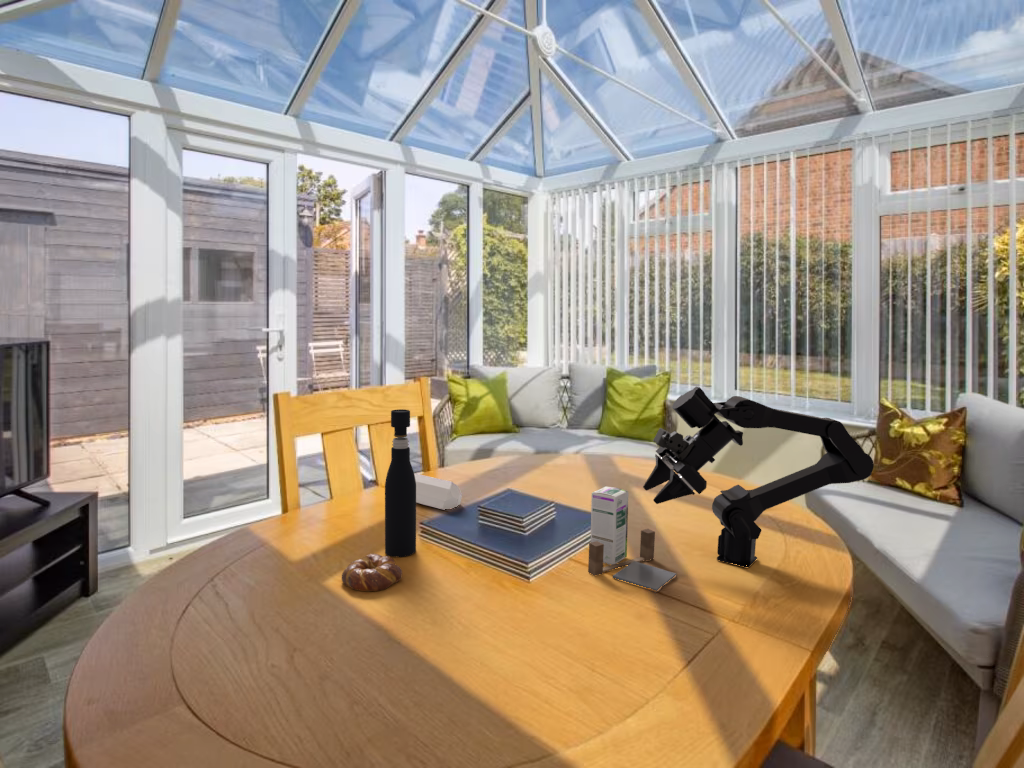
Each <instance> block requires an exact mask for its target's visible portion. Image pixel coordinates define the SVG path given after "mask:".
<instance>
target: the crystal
mask: <svg viewBox="0 0 1024 768" xmlns="http://www.w3.org/2000/svg"><path fill="white" fill-rule="evenodd" d="M414 475H415V481H416V504H421V505H423V506H428V507H432V508H436V509H440V510H444V511H446V510H445V509H450V508H454V507H457V506H458V505H459V506H460V505H461V502H462V497H463V494H462V492H461V489H460V487H459V485H457V484H456V483H454V482H453V481H450V480H447V479H442V478H438V477H432V476H429V475H424V474H421V473H420V474H419V473H415V472H414ZM459 506H458V507H459ZM458 507H457V508H458ZM454 509H455V508H454Z"/></svg>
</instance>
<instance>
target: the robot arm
mask: <svg viewBox="0 0 1024 768" xmlns="http://www.w3.org/2000/svg"><path fill="white" fill-rule="evenodd" d="M671 408H672V410H673V411H674V412H675V413H676V414H677V415H678V416H679V417H680V418H681V419H682V421H684V422H685V423H686V424H687V425H688V426H689V428H691V429H694V428H697V429H699V430H698V431H697V432H696V433H695V434H693V436H691V435H690V434H689V435H686V436H684V435H683V434H681V433H679V432H677V431H672V432H671V431H668V430H667V429H664V428H662V427H659V428H658V431H657V432H656V434H655V436H654V438H653V440H652V441H653V442H654V443H655V444H656V445H657V446H659V447H658V448H657V449H656V450H655V455H654V457H655V466H654V468H653V470H652V472H651V473H650V474H649V476H648V478H647V480H646V481H645V482H644V483H643V486H642V488H643V489H644V491H649V490H652V489H654V488H656V487H659V486H660V485H662V484H664V483H665V484H664V486H663V487H662V488H661V489H660V491H659V492H658V493H657V494H656V495H655V496H654V498H653V500H652V501H653V502H654V503H655V504H656V505H658V504H663V503H665V502H666V503H667V502H668V501H669V502H670V501H672V500H675V499H679V498H683V497H687V496H691V495H693V496H694V495H695V494H696V493H697V494H698V495H701V493H703V492H704V491H705V490H706V489H707V485H708V483H707V480H706V479H705V478H704V477H703V476H702V475H701V473H700V472H699V471H700V469H702V468H703V467H704V466H705V465H706V464H707V463H708V462H709V463H711V464H713V463H714V462H715V461H716V459H715V458H714V457H715V456H716V455H717V454H718V453H720V451H721V450H723V449H724V448H725V447H726V446H727V445H728V444H729V443H731V442H733V443H735V444H737V445H739V446H740V447H741V446H743V444H744V441H743V436H744V432H743V431H742V430H739V429H737V430H736V429H735V428H734V427H733V426H732V425H731V424H730V423H732V424H734V425H735V426H738V427H740V428H743V429H765V428H770V429H771V428H772V429H773V428H774V429H780V430H785V431H791V432H796V433H801V434H806V435H810V436H817V437H819V438H820V440H821V443H822V447H823V449H824V450H825V452H826V453H825V454H823V455H822V457H820V459H819V460H818V461H817V462H816V463H815V464H813V465H810V466H807V467H805V468H802V469H800V470H798V471H795V472H793V473H791V474H788V475H786V476H782V477H781V478H778V479H776V480H775V479H774V481H770V482H768V483H765V484H763V485H760V486H758V487H756V488H754V489H746V488H744V487H743V486H741V485H740V484H736V485H734V486H732V487H731V488H729V489H726V490H720V494H718V495H717V496H715V497H714V499H713V502H712V505H711V509H712V513H713V515H714V516H715V517H716V518H717V519H718V520H719V523H720V525H721V526H723V528H722V529H721V530H720V535H718V537H717V550H716V551H717V552H716V553H717V555H718V556H717V557H716V561H718V560H720V561H719V562H722V561H724V562H723V563H726V562H728V563H727V564H729V563H733V564H737V565H740V566H744V567H749V566H750V565H751V564H752V563H753V562H754V561H755V560H756V559H757V560H758V557H757V555H756V543H757V540H759V538H760V536H761V533H762V528H761V527H760V526H759V525H758V524H757V523H755V522H756V521H757V519H759V517H760V516H761V515H762V514H763V513H764V512H765V511H767V510H769V509H771V508H773V507H776V506H778V505H782V504H783V503H787V502H789V501H791V500H793V499H796V498H799V497H801V496H803V495H805V494H809V493H811V492H814V491H816V490H819V489H821V488H823V487H826V486H828V485H834V484H835V485H837V484H851V483H855V482H860V481H864V480H867V479H868V478H869V477H871V476H872V472H873V470H874V468H875V467H874V466H875V464H874V460H873V458H872V456H871V455H869V454H868V453H866V452H865V451H864V450H863V449H862V447H861V445H859V443H858V441H856V440H855V438H853V436H852V435H851V434H850V433H849V432H848V430H847V428H846V427H845V426H844V424H843V423H842V422H841V421H839V420H837V419H836V420H835V419H833V418H830V417H819V416H814V415H808V414H804V413H798V412H794V411H788V410H782V409H777V408H773V407H770V406H767V405H765V404H763V403H761V402H760V403H759V402H756V401H754V400H752V399H748V398H745V397H742V396H740V395H733V396H731V397H730V398H728V399H727V400H726V401H720V402H718V401H717V402H713V401H712V400H711V399H710V398H709V397H708V396H707V394H706V393H705V391H704V390H703V389H702V388H701V387H699V386H695V387H694V388H692V389H691V390H688V391H686V392H685V393H683V394H681V395H680V396H679V397H677V398H676V400H675V401H674V402H673V403H672V406H671ZM716 415H718V416H719V417H722V418H724V419H725V420H724V421H721V419H719V418H718V417H717V416H716ZM726 420H727V421H726ZM657 454H658V455H657ZM694 491H695V492H696V493H695V492H694ZM757 560H756V561H757ZM756 561H755V562H756ZM755 562H754V563H755ZM754 563H753V564H754ZM733 564H732V565H733ZM753 564H752V565H753ZM737 565H736V566H737ZM746 565H747V566H746ZM752 565H751V566H752ZM740 566H739V567H740ZM751 566H750V567H751ZM744 567H743V568H744ZM750 567H749V568H750Z"/></svg>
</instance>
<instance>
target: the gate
mask: <svg viewBox="0 0 1024 768" xmlns="http://www.w3.org/2000/svg"><path fill="white" fill-rule="evenodd" d="M655 536H656V531H654V530H652V529H650V528H645V529H641V531H640V545H639V546H640V547H639V548H640V549H639V557H635V558H631V559H628V560H625V561H622V562H621V561H620V562H618V563H616V564H613V565H610V564H609V565H606V566H604V563H603V552H604V544H602V543H600V542H598V541H595V542H591V541H590V542H588V567H587V569H588V570H587V572H589V574H590V573H591V574H590V575H592V574H593V575H592V576H594V577H596V576H595V575H597V576H599V574H601V575H603V574H602V573H603V572H604V573H606V572H605V571H607V572H610V571H609V570H611V571H613V570H612V569H614V570H616V569H615V568H618V567H621V568H623V567H622V566H625V565H629V564H631V563H632V562H634V561H636V562H639V563H641V562H640V561H643V560H650V559H653V558H654V559H655V557H654V556H655V543H656V542H655V540H656V537H655ZM650 561H651V560H650ZM643 562H644V561H643ZM625 567H626V566H625ZM618 569H619V568H618Z"/></svg>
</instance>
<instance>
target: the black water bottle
mask: <svg viewBox="0 0 1024 768" xmlns="http://www.w3.org/2000/svg"><path fill="white" fill-rule="evenodd" d="M390 427H391V428H394V432H393V436H394V438H393V439H392V447H391V451H390V453H391V458H390V459H391V460H390V463H389V466H388V470H387V473H386V476H385V483H384V552H385V554H386V556H388V557H391V558H405V557H409V556H412V555H414V554H415V553H416V551H417V503H416V481H415V475H414V473H415V471H414V469H413V466H412V463H411V459H410V456H411V451H410V450H411V448H410V446H409V442H410V441H409V438H408V437H407V436H408V434H407V433H408V428H410V427H411V410H409V409H404V408H403V409H391V411H390Z"/></svg>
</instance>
